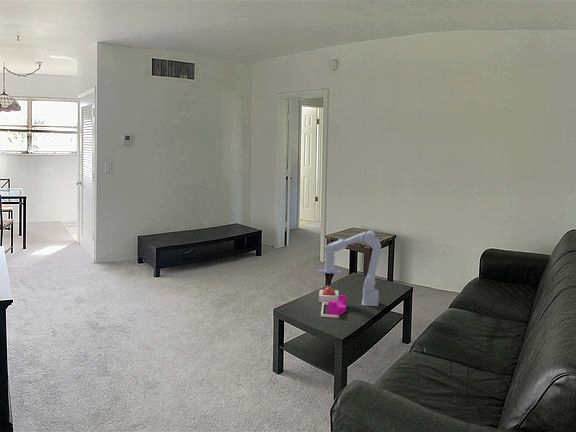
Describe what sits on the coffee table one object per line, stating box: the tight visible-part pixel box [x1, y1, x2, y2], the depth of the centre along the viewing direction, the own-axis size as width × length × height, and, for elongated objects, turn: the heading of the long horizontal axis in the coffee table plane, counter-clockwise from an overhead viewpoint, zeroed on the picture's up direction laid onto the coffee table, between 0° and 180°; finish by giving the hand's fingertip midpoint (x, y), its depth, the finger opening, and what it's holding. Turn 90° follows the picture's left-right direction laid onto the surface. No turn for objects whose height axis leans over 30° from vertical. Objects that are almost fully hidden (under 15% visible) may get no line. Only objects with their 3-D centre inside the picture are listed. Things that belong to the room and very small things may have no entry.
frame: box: [320, 302, 340, 319], centre depth 270 cm, size 10×20×1 cm, turn 174°
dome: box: [322, 286, 335, 295], centre depth 288 cm, size 7×7×6 cm
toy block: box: [327, 293, 347, 316], centre depth 269 cm, size 15×6×8 cm, turn 147°
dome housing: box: [318, 289, 339, 303], centre depth 288 cm, size 12×12×4 cm
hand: (329, 285), depth 287 cm, fingers closed
